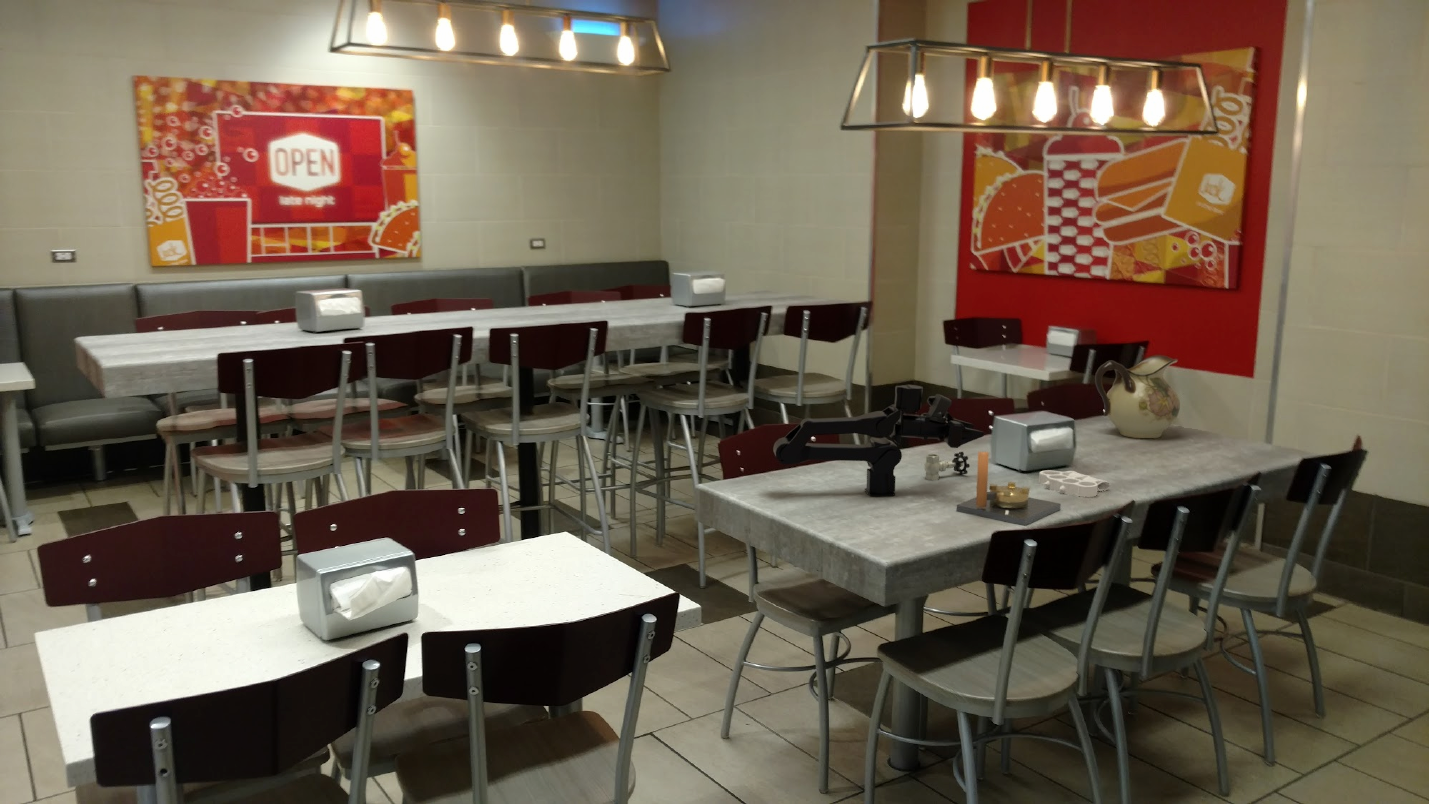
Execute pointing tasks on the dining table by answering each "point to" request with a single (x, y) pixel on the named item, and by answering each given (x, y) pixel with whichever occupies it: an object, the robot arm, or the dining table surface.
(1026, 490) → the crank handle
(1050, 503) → the steel plate
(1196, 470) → the dining table surface
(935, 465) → the valve
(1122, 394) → the pitcher
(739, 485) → the dining table surface
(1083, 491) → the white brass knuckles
